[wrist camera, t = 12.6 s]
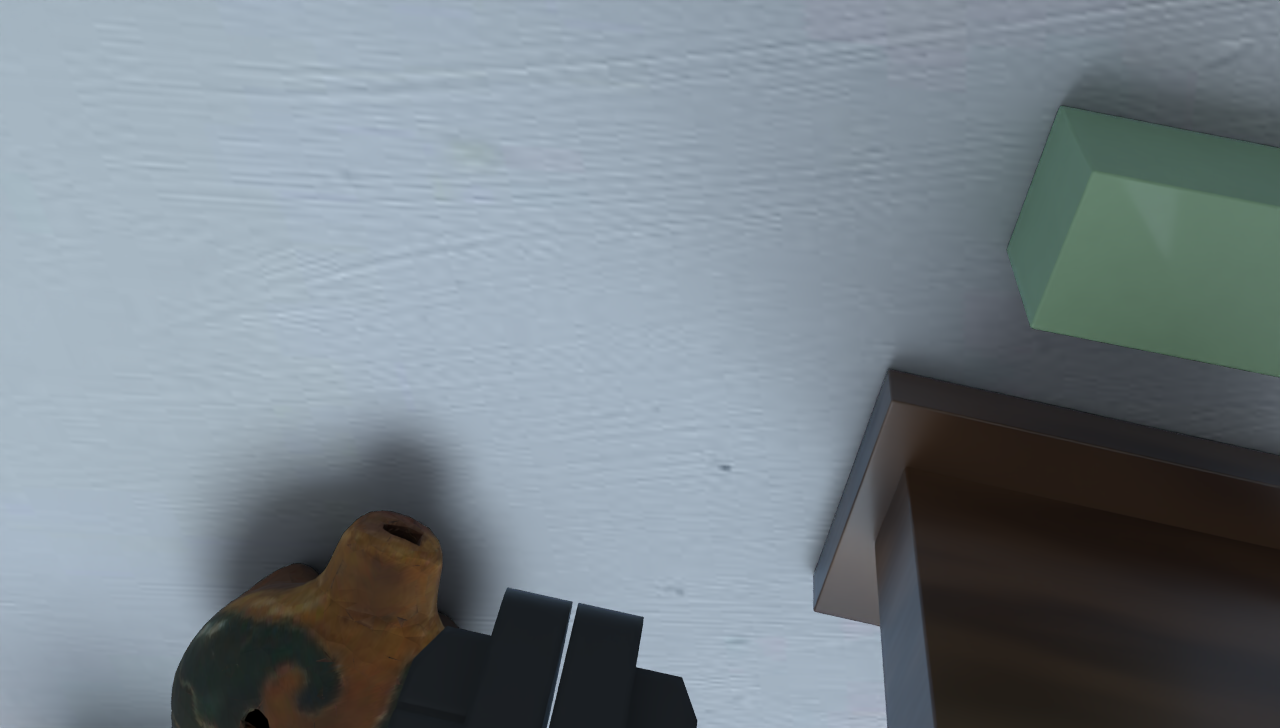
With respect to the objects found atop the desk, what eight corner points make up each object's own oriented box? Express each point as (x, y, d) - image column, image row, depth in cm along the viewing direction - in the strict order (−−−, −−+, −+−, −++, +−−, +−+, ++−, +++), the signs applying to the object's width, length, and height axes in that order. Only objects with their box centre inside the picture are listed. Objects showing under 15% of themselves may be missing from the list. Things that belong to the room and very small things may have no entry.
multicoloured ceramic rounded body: (212, 728, 45) (95, 911, 38) (273, 404, 37) (143, 557, 30) (455, 813, 45) (383, 1011, 38) (564, 507, 38) (500, 683, 31)
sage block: (1059, 104, 28) (1092, 170, 25) (1473, 184, 28) (1562, 262, 25) (1005, 250, 31) (1029, 329, 27) (1389, 326, 30) (1461, 414, 27)
